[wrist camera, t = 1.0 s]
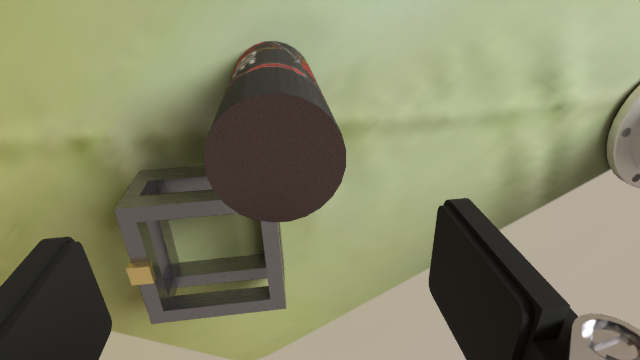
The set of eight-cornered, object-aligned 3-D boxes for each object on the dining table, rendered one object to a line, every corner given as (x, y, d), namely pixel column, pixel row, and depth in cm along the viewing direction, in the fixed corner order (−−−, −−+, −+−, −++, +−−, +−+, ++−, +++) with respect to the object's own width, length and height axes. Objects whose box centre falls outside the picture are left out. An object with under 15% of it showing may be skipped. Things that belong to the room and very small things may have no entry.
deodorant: (283, 132, 31) (294, 242, 18) (218, 91, 29) (176, 181, 16) (327, 72, 29) (374, 144, 16) (261, 23, 27) (253, 61, 14)
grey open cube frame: (273, 160, 32) (274, 199, 26) (283, 262, 37) (286, 313, 31) (137, 171, 31) (107, 214, 25) (166, 274, 36) (146, 330, 30)
